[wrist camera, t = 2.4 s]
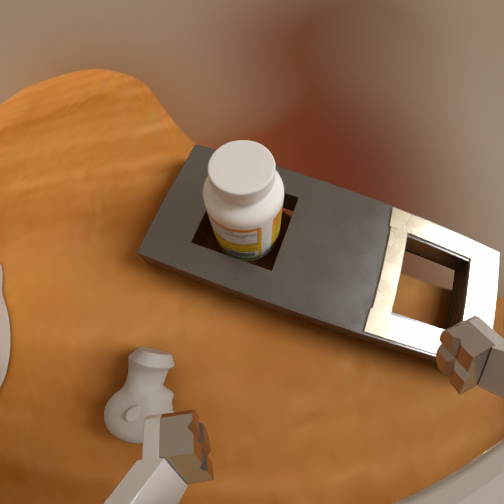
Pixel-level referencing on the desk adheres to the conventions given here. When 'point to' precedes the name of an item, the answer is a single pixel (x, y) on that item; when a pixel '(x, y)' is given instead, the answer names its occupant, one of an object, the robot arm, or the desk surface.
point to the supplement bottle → (244, 199)
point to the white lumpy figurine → (140, 394)
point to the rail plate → (327, 260)
